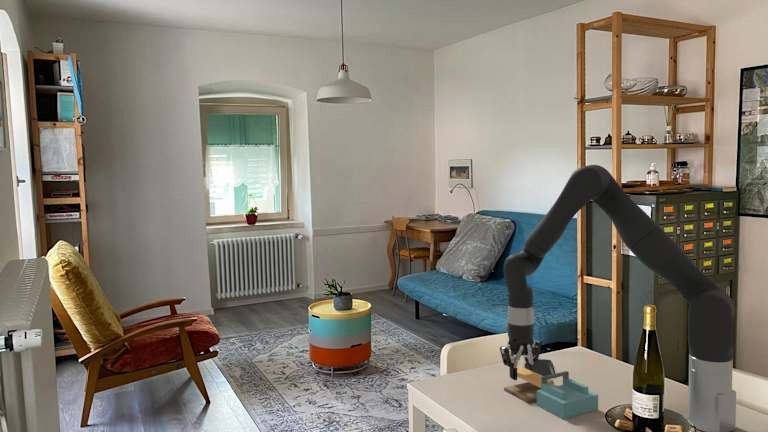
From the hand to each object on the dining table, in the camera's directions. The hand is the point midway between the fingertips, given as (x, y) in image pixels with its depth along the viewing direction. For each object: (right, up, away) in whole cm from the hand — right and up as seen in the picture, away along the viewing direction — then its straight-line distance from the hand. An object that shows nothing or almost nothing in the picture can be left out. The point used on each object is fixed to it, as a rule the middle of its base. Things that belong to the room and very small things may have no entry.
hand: (521, 377), depth 173 cm
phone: (+9, -2, +13) cm, 16 cm away
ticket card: (+2, +1, -5) cm, 5 cm away
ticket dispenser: (+8, -3, -17) cm, 19 cm away
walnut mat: (+3, -3, -6) cm, 7 cm away
